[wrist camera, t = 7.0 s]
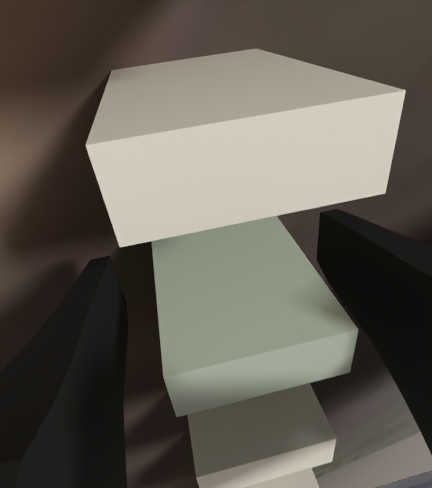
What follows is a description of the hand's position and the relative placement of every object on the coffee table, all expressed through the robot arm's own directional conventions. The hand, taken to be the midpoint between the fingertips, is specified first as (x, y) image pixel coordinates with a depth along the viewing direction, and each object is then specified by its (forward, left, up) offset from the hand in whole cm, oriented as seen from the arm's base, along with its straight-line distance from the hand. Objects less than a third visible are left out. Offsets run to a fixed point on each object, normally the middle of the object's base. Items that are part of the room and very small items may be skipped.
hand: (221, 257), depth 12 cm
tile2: (+2, -5, -2) cm, 6 cm away
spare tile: (0, 0, -2) cm, 2 cm away
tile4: (-2, +5, -2) cm, 6 cm away
